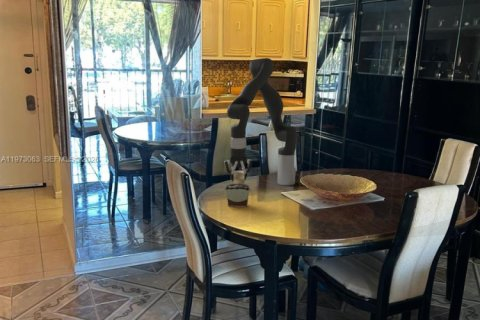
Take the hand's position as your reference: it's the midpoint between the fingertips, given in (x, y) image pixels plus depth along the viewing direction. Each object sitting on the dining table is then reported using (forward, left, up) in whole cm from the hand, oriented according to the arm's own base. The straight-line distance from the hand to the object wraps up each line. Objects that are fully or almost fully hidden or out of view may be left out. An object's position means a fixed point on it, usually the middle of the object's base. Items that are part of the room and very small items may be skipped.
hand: (238, 180), depth 215 cm
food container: (0, 0, -12) cm, 12 cm away
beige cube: (0, 0, -1) cm, 1 cm away
